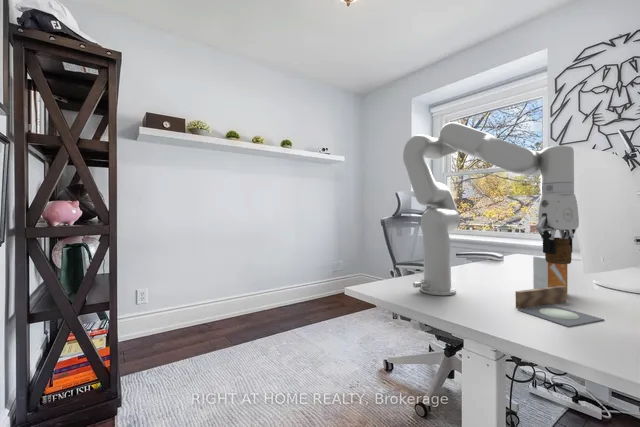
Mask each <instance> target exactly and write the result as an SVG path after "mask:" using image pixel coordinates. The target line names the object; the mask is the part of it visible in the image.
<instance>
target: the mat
mask: <svg viewBox="0 0 640 427" xmlns="http://www.w3.org/2000/svg"><path fill="white" fill-rule="evenodd" d="M517 311H519V312H521V313H525V314H528V315H529V316H530V315H531V316H534V317H536V318H540V319H543V320H546V321H548V322H552V323H554V324H557V325H560V326H563V327H567V328H571V327H577V326H581V325H586V324H592V323H597V322H599V323H600V322H603V321H605V319H604V318H601V317H598V316H595V315H591V314H586V313H584V312H583V313H582V312H580V311H576V310H572V309H569V308H566V307H563V306H559V305H554V304H549V305H542V306H535V307H529V308H522V309H519V308H517Z"/></svg>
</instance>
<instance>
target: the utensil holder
mask: <svg viewBox="0 0 640 427" xmlns="http://www.w3.org/2000/svg"><path fill="white" fill-rule="evenodd" d="M560 231H561V230H560ZM568 231H569V230H568ZM570 231H571V230H570ZM570 233H571V232H570ZM562 234H563V233H562ZM566 234H567V233H566ZM559 236H560V237H555V236H554V239H553V240H556V254H548V253H544V256H545V260H546V262H549V263H554V264H567V265H570V264H572V257H573V256H572V253H571V246H570V245H569V243H570V240H569V239H568V237H567V236H565V237H567V238H561V235H560V234H559ZM563 236H564V234H563Z"/></svg>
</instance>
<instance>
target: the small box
mask: <svg viewBox="0 0 640 427" xmlns="http://www.w3.org/2000/svg"><path fill="white" fill-rule="evenodd" d="M532 263H533V264H532V267H533V275H532V276H533V279H532V283H533V288H532V289H538V288H546V287H554V286H566V296H567V295H568V264H554V263H549V262H546V260H545V255H539V256H533V261H532Z"/></svg>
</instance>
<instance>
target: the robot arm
mask: <svg viewBox="0 0 640 427" xmlns="http://www.w3.org/2000/svg"><path fill="white" fill-rule="evenodd" d="M438 136H439V137H432V136H430V135H426V134H416V135H413V136H411V137H410V138H409V139H408V140H407V141H406V142H405V144H404V147H403V150H402V162H403V166H404V167H405V170H406V171H405V172H406V173H407V176H408V178H409V182H410V184H411V188H412V190H413V194H414V197H415V198H416V201H417V203H418V204H419V205H420V206H421V205H422V206H424V207H430V208H428V209H426V210H425V211H424V212H423V213H422V215H421V217H420V227H421V232H422V242H423V243H422V244H423V246H422V248H423V278H421V280H420V281H414V282H413V283H412V286H413V288H419V291H420V290H421V291H420V292H422V293H425V294H427V295H433V296H452V295H455V294H457V289H456V288H454V287H453V286H452V262H451V261H452V259H451V258H452V257H451V256H452V255H451V253H452V251H451V249H452V248H451V239H450V235H449V232H452V231H454V230H456V229H457V228H458V226H460V222H461V217H460V213H459V210H458V208H457V204H456V203H455V200H454V196H453V193H452V192H451V189H449V187H448V186H447V185H445V184H444V183H442V182H438V181H436V180H435V178H434V176H433V173H432V170H431V168H430V166H429V165H428V163H427V161H426V159H427V160H438V159H441V158H444V157H447V156H450V155H452V154H456V153H457V152H460V153H464V154H466V155H468V156H470V157H473V158H475V159H477V160H481V161H483V162H486V163H488V164H491V165H493V166H496V167H497V168H501V169H502V170H505V171H507V172H510V173H513V174H516V175H521V176H535V175H538V174H540V196H539V197H540V198H539V204H538V213H537V215H538V217H537V218H538V222H537V224H536V226H535V229H536V231H537V232H538V234H539V235H540V236H541V237H540V239H541V240H542V252H543V254H545V253H548V254H556V240H553V239H554V237H555V236H556V233H557V231H558V232H559V236H560V235H561V236H560V238H567V237H568V239H569V240H570V243H569V245H570V246H571V254H572V253H573V239H574V234H575V233H576V230H577V229H578V228H579V226H580V222H579V221H580V220H579V218H580V216H579V209H578V201H577V198H576V194H575V150H574V148H573V146H571V145H567V144H566V145H554V146H549V147H548V146H547V147H545V148H543V149H542V150H541V151H540V150H538V151H537V150H531V149H529V148H527V147H523V146H520V145H517V144H516V143H513V142H510V141H507V140H503V139H501V138H498V137H496V136H494V135H492V134H491V133H488V132H486V131H485V132H484V131H482V130H479V129H477V128H474V127H471V126H468V125H465V124H462V123H459V122H452V121H451V122H448V123H445V124H444V125H443V126H442V127H441V128H440V130H439V135H438ZM560 230H561V231H560ZM568 230H569V231H568ZM570 230H571V231H570ZM570 232H571V233H570ZM562 233H563V234H564V236H563V234H562ZM566 233H567V234H566ZM565 236H567V237H565Z"/></svg>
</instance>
